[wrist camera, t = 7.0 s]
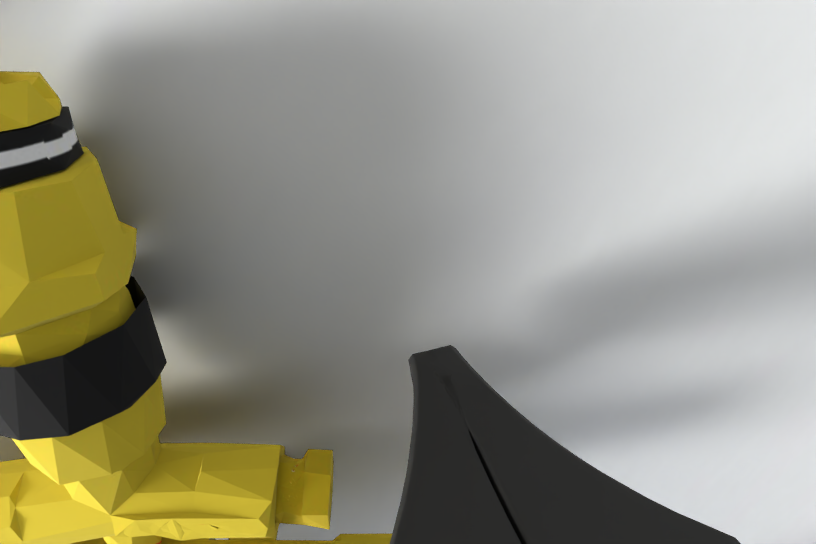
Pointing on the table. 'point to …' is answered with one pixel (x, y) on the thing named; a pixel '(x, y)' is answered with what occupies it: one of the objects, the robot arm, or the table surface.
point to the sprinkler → (108, 373)
